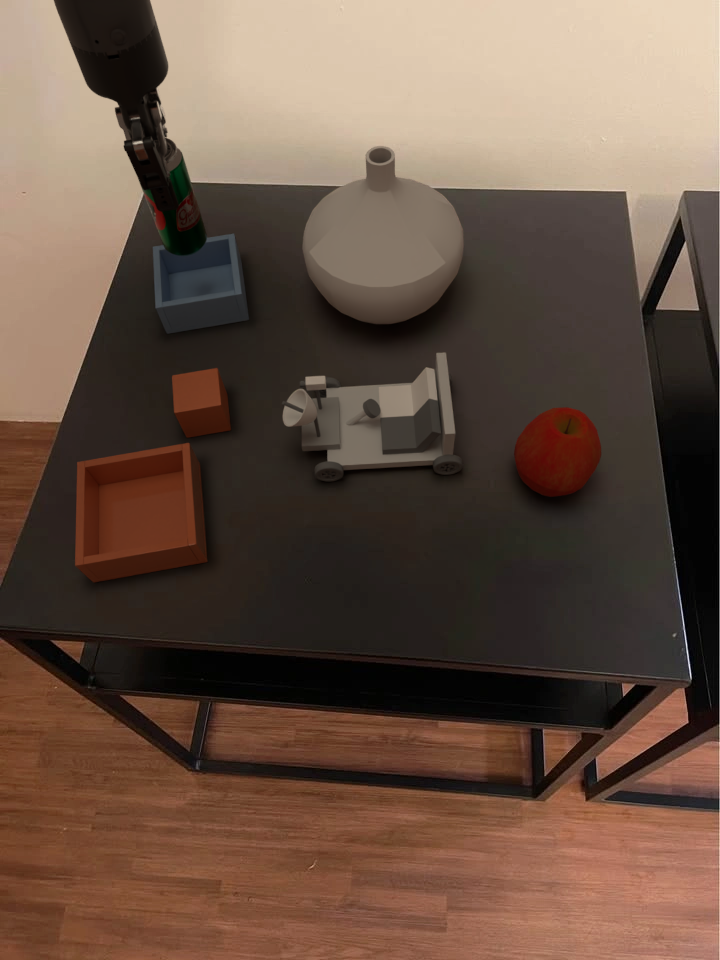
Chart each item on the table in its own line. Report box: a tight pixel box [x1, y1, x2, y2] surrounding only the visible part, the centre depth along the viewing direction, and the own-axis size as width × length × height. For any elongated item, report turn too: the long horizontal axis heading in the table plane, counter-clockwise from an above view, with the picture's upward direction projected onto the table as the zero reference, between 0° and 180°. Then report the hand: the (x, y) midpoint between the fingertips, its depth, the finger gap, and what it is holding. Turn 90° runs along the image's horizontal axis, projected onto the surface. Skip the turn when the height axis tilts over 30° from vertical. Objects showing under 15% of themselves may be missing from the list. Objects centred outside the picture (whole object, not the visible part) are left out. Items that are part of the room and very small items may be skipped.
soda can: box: [137, 137, 208, 256], centre depth 77 cm, size 5×5×12 cm
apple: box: [513, 406, 602, 498], centre depth 70 cm, size 8×8×11 cm
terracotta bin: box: [74, 442, 208, 583], centre depth 73 cm, size 12×12×5 cm
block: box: [171, 367, 232, 439], centre depth 79 cm, size 5×5×5 cm
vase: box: [301, 145, 465, 325], centre depth 80 cm, size 18×18×19 cm
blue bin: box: [152, 233, 250, 335], centre depth 88 cm, size 10×10×5 cm
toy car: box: [281, 352, 463, 483], centre depth 74 cm, size 18×10×12 cm
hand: (167, 189), depth 75 cm, fingers closed on soda can, 5 cm apart
